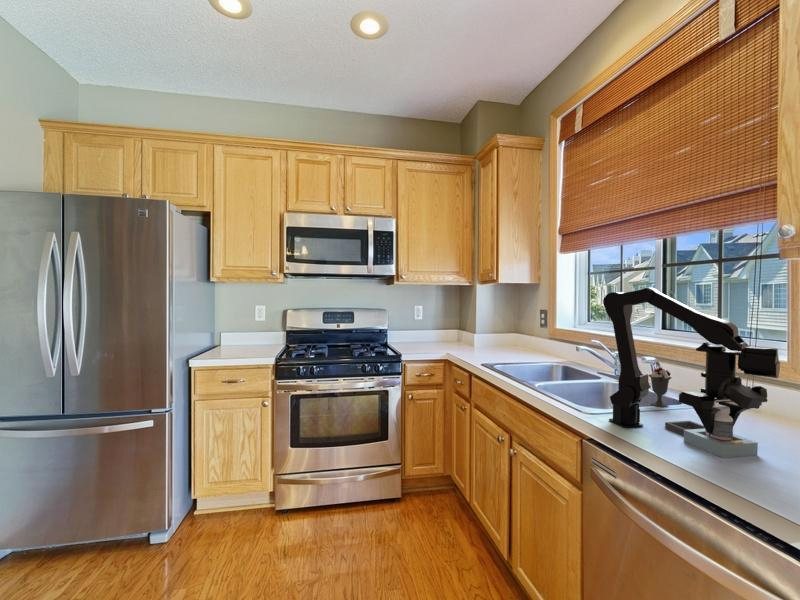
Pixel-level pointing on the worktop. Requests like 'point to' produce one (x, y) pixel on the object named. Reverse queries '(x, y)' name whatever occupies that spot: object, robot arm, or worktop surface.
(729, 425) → the pill bottle
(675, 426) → the dark brown square tray
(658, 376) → the sundae
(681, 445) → the worktop surface
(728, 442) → the tray
